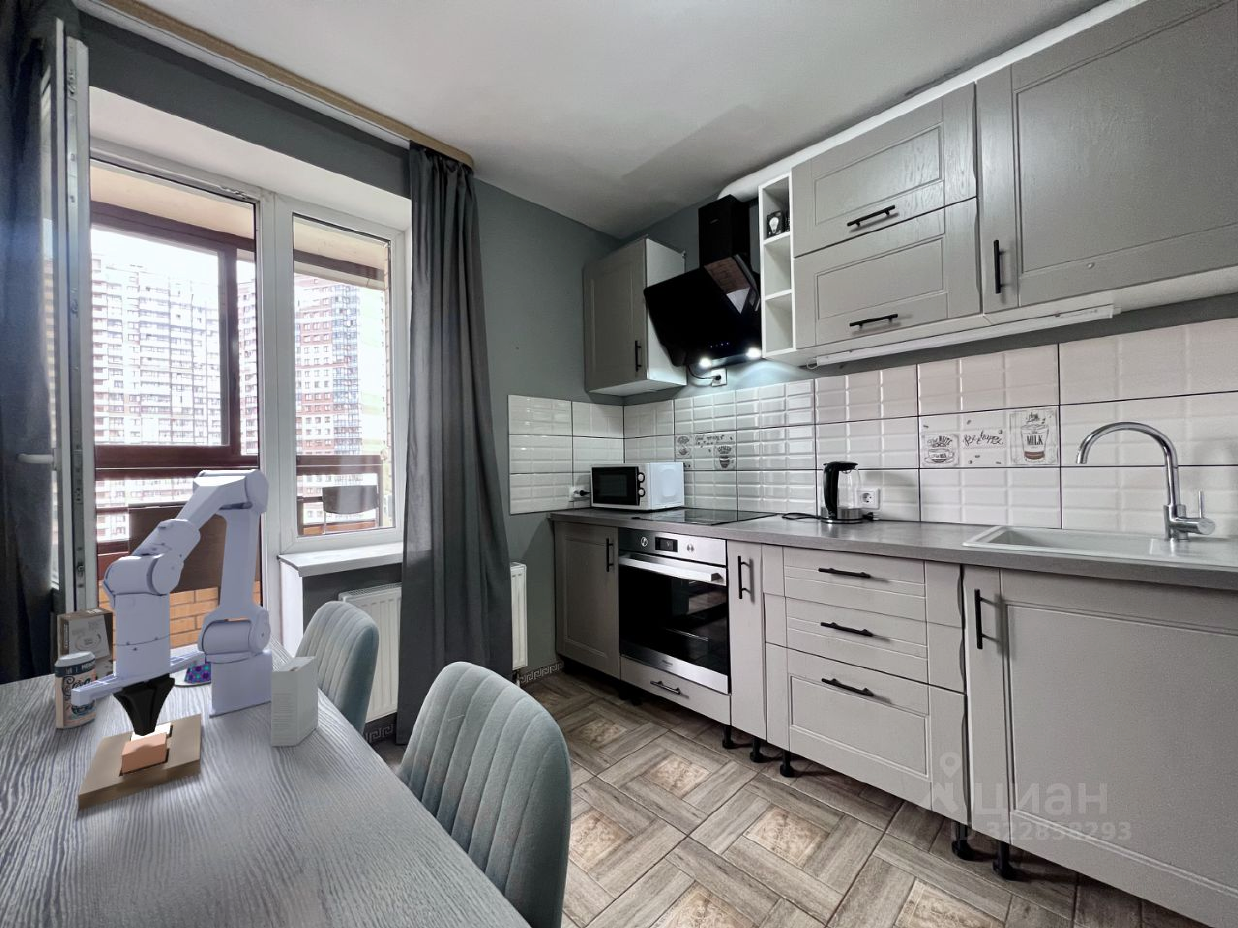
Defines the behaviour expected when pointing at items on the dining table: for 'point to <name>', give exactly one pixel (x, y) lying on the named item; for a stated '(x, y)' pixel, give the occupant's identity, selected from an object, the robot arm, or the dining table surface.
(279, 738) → the skincare box
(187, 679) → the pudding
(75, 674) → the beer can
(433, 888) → the dining table surface
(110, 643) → the coffee box
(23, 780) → the dining table surface
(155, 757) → the terracotta button
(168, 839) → the dining table surface
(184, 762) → the button board
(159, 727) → the metal button
